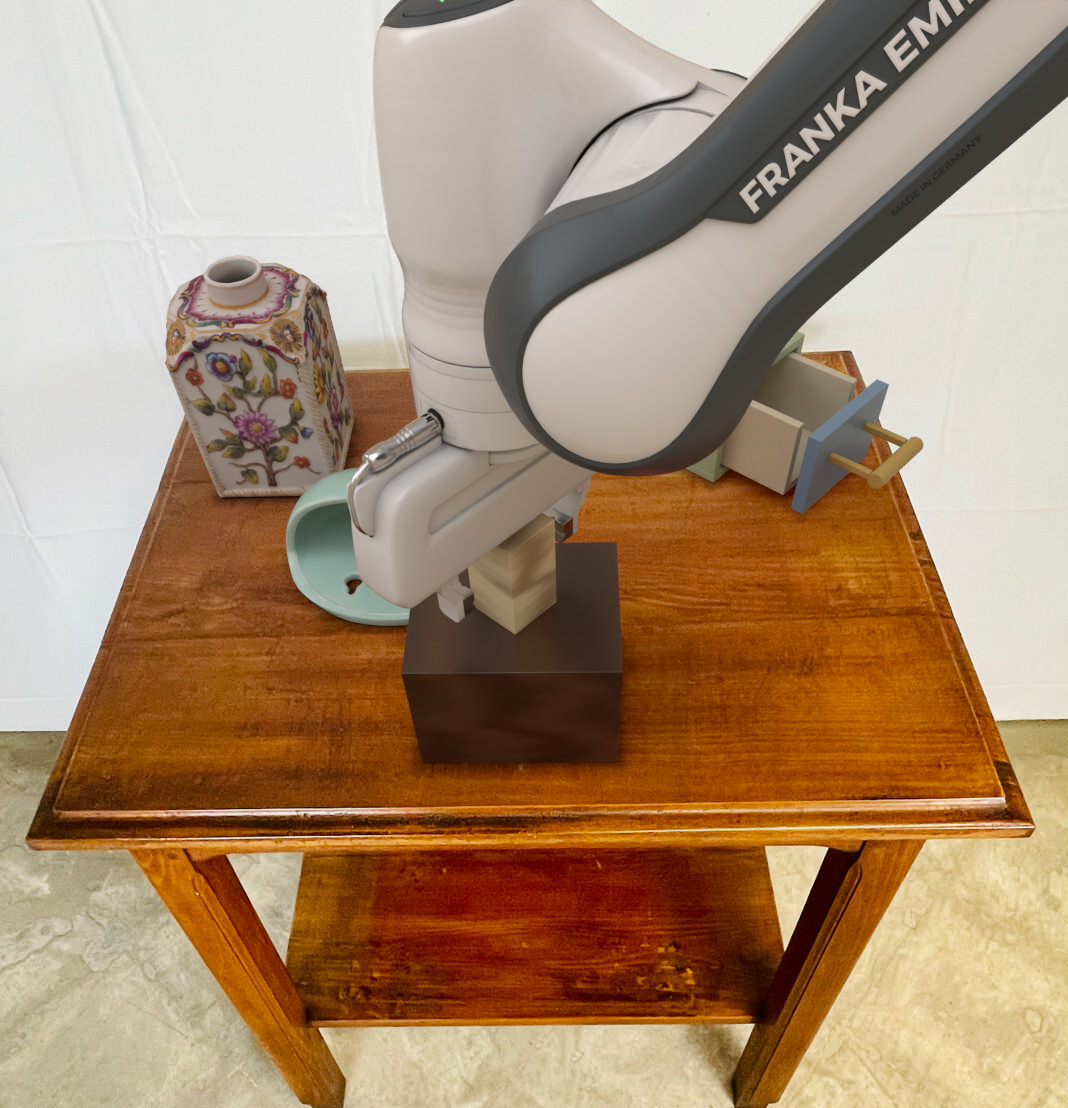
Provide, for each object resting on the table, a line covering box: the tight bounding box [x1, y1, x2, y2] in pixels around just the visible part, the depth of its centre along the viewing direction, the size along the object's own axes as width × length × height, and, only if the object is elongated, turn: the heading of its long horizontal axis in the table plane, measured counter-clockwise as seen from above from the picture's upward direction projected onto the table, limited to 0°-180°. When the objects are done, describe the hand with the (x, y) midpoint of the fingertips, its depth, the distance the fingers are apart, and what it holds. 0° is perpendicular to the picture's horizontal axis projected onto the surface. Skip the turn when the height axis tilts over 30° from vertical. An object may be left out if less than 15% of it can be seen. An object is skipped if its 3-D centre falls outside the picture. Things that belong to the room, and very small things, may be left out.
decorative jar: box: [164, 255, 355, 499], centre depth 79 cm, size 12×12×18 cm
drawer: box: [720, 351, 924, 515], centre depth 78 cm, size 18×10×7 cm, turn 47°
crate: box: [400, 541, 624, 764], centre depth 64 cm, size 14×12×10 cm
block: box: [468, 513, 556, 635], centre depth 57 cm, size 4×4×7 cm
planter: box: [285, 466, 410, 627], centre depth 75 cm, size 19×7×16 cm
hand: (511, 571), depth 57 cm, fingers open, 8 cm apart
